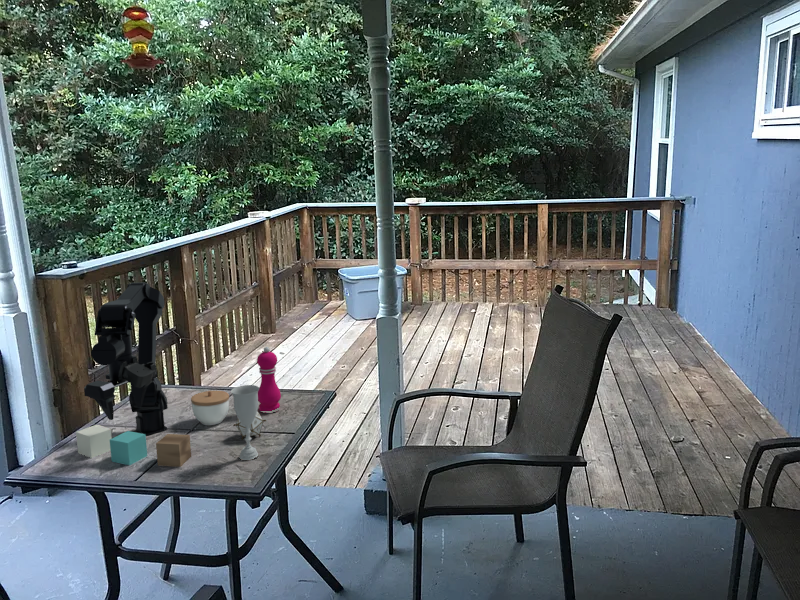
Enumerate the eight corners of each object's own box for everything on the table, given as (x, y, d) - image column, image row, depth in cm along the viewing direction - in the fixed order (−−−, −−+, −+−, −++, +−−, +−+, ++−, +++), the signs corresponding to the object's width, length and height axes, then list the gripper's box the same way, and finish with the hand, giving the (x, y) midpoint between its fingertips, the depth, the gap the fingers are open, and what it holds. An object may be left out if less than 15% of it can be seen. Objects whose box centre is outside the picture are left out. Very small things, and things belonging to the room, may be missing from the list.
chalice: (246, 449, 173) (242, 383, 170) (268, 453, 171) (264, 386, 168) (229, 460, 167) (225, 392, 163) (252, 464, 164) (248, 395, 161)
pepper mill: (258, 415, 198) (255, 350, 194) (256, 407, 205) (253, 345, 201) (282, 412, 200) (279, 348, 196) (280, 404, 207) (277, 343, 203)
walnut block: (169, 455, 170) (167, 433, 169) (191, 456, 169) (189, 434, 168) (157, 465, 164) (155, 443, 163) (180, 467, 163) (178, 444, 162)
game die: (254, 446, 185) (269, 413, 188) (259, 446, 177) (274, 411, 180) (224, 433, 182) (240, 400, 186) (228, 433, 175) (244, 398, 178)
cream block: (99, 445, 177) (97, 424, 176) (112, 450, 174) (110, 428, 173) (78, 453, 172) (75, 431, 171) (91, 458, 169) (89, 436, 168)
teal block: (129, 452, 172) (127, 431, 171) (147, 456, 170) (145, 434, 169) (111, 461, 167) (109, 439, 166) (129, 465, 165) (127, 443, 163)
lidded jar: (187, 420, 194) (185, 390, 192) (221, 412, 201) (220, 382, 199) (200, 431, 186) (198, 399, 184) (236, 422, 192) (234, 391, 190)
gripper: (115, 367, 152) (121, 431, 155) (171, 347, 168) (176, 405, 171) (79, 362, 156) (86, 424, 159) (138, 343, 173) (143, 400, 176)
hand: (125, 413), depth 166 cm, fingers open, 9 cm apart
